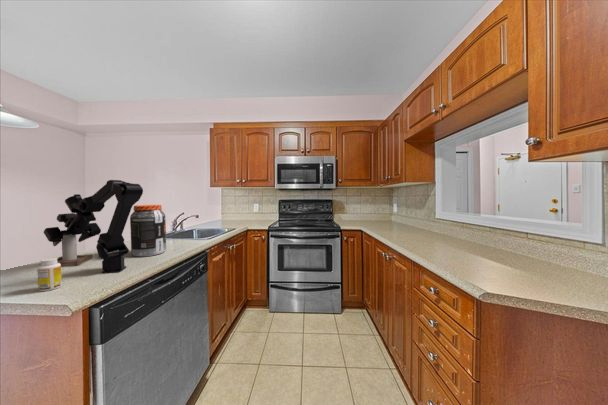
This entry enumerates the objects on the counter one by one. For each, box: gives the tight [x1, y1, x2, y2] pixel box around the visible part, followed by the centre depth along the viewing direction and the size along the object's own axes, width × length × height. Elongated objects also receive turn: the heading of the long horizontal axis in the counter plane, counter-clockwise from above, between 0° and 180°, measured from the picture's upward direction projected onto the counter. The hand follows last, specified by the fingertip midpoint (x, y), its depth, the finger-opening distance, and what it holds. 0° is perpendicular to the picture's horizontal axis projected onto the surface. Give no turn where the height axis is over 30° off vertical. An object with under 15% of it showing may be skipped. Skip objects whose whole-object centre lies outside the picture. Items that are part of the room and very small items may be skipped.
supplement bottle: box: [36, 257, 63, 292], centre depth 82 cm, size 6×6×10 cm
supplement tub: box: [129, 204, 167, 257], centre depth 128 cm, size 16×16×26 cm
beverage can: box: [61, 235, 78, 261], centre depth 111 cm, size 5×5×12 cm
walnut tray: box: [56, 254, 94, 268], centre depth 111 cm, size 12×12×2 cm
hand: (66, 243), depth 111 cm, fingers open, 9 cm apart
